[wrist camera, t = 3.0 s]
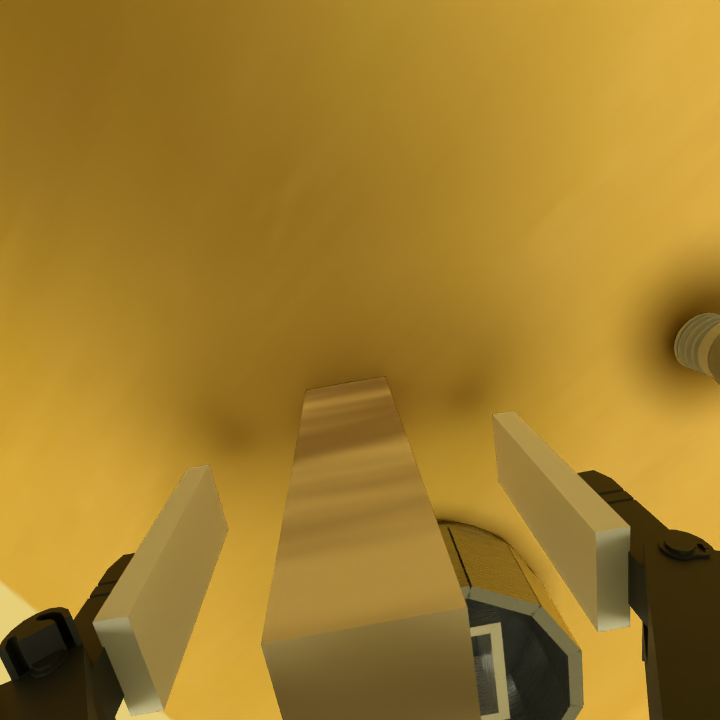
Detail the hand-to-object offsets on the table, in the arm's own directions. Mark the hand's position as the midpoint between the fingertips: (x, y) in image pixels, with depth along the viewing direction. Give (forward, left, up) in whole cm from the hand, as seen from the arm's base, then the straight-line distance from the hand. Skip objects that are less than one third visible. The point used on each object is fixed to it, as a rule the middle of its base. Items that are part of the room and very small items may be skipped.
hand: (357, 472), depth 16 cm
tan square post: (0, 0, -5) cm, 5 cm away
